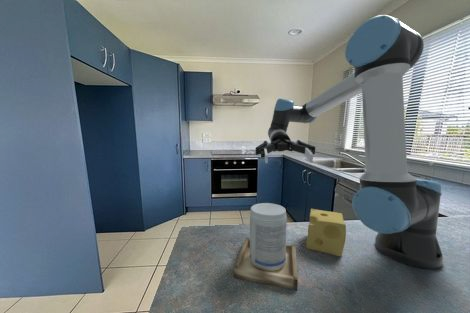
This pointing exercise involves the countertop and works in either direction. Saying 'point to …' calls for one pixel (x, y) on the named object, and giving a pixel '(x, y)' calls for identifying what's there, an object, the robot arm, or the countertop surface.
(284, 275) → the tray
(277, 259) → the supplement tub
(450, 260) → the countertop surface
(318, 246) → the cheese
